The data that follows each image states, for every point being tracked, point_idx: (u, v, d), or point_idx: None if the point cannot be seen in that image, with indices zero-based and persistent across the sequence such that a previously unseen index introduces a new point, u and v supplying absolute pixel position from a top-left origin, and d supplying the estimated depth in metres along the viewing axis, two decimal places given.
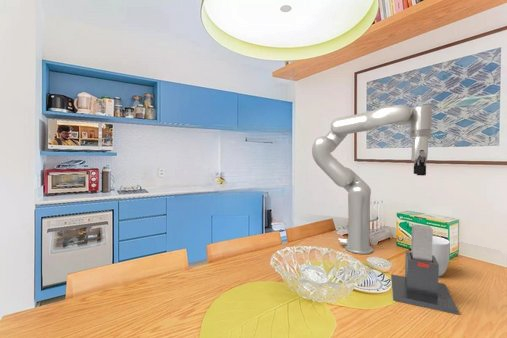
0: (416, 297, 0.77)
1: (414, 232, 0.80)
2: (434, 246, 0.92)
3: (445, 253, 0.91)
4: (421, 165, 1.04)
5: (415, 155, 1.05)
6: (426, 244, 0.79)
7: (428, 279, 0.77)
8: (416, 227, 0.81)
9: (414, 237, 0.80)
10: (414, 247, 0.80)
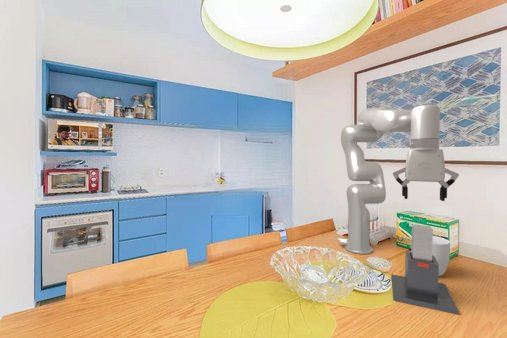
0: (416, 297, 0.77)
1: (414, 232, 0.80)
2: (434, 246, 0.92)
3: (445, 253, 0.91)
4: None
5: (444, 174, 0.76)
6: (426, 244, 0.79)
7: (428, 279, 0.77)
8: (416, 227, 0.81)
9: (414, 237, 0.80)
10: (414, 247, 0.80)
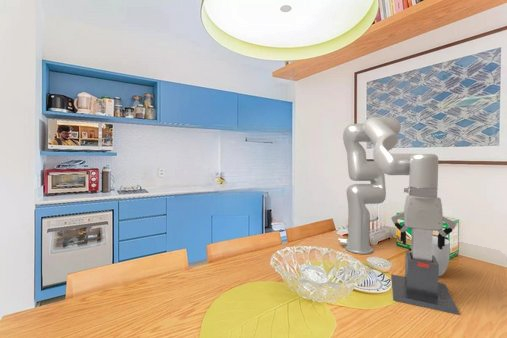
0: (416, 297, 0.77)
1: (414, 232, 0.80)
2: (434, 246, 0.92)
3: (445, 253, 0.91)
4: None
5: (442, 223, 0.77)
6: (426, 244, 0.79)
7: (428, 279, 0.77)
8: None
9: (414, 237, 0.80)
10: (414, 247, 0.80)
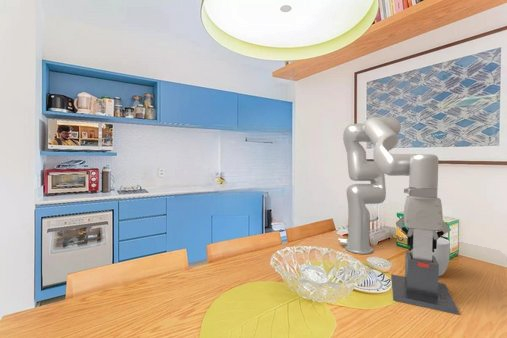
0: (416, 297, 0.77)
1: (414, 232, 0.80)
2: None
3: (445, 253, 0.91)
4: None
5: (442, 223, 0.77)
6: (426, 244, 0.79)
7: (428, 279, 0.77)
8: None
9: (414, 237, 0.80)
10: (414, 247, 0.80)
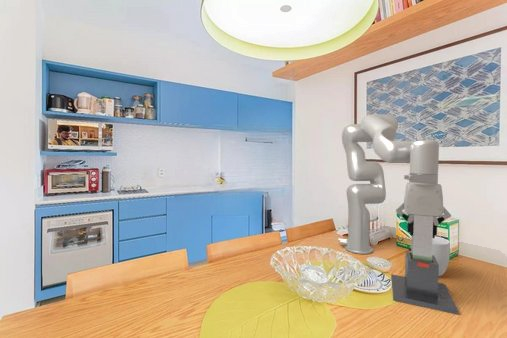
0: (416, 297, 0.77)
1: (414, 218, 0.80)
2: (434, 246, 0.92)
3: (445, 253, 0.91)
4: None
5: (443, 209, 0.77)
6: (427, 230, 0.78)
7: (428, 279, 0.77)
8: None
9: (414, 223, 0.80)
10: (414, 233, 0.80)
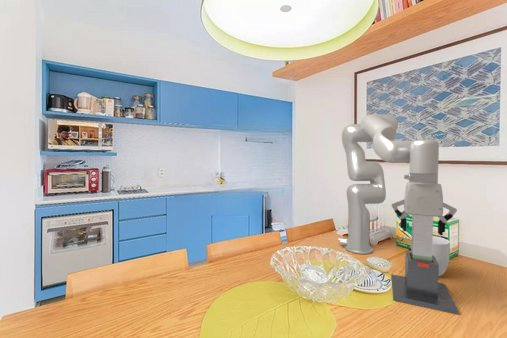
0: (416, 297, 0.77)
1: (414, 218, 0.80)
2: (434, 246, 0.92)
3: (445, 253, 0.91)
4: None
5: None
6: (427, 230, 0.78)
7: (428, 279, 0.77)
8: None
9: (414, 223, 0.80)
10: (414, 233, 0.80)
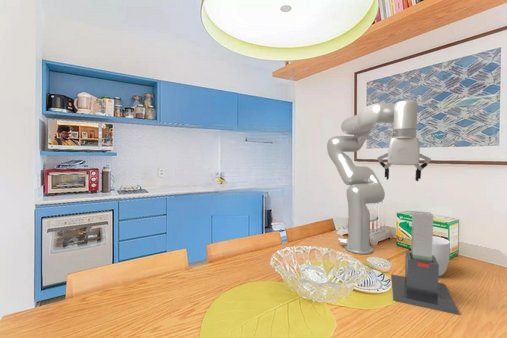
0: (416, 297, 0.77)
1: (414, 218, 0.80)
2: (434, 246, 0.92)
3: (445, 253, 0.91)
4: (421, 169, 0.93)
5: (419, 158, 0.91)
6: (427, 230, 0.78)
7: (428, 279, 0.77)
8: (416, 213, 0.80)
9: (414, 223, 0.80)
10: (414, 233, 0.80)
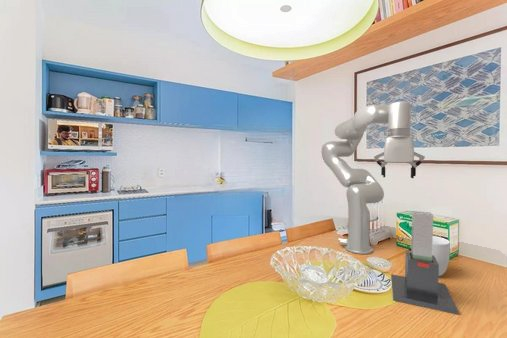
0: (416, 297, 0.77)
1: (414, 218, 0.80)
2: (434, 246, 0.92)
3: (445, 253, 0.91)
4: None
5: (413, 156, 0.95)
6: (427, 230, 0.78)
7: (428, 279, 0.77)
8: (416, 213, 0.80)
9: (414, 223, 0.80)
10: (414, 233, 0.80)
